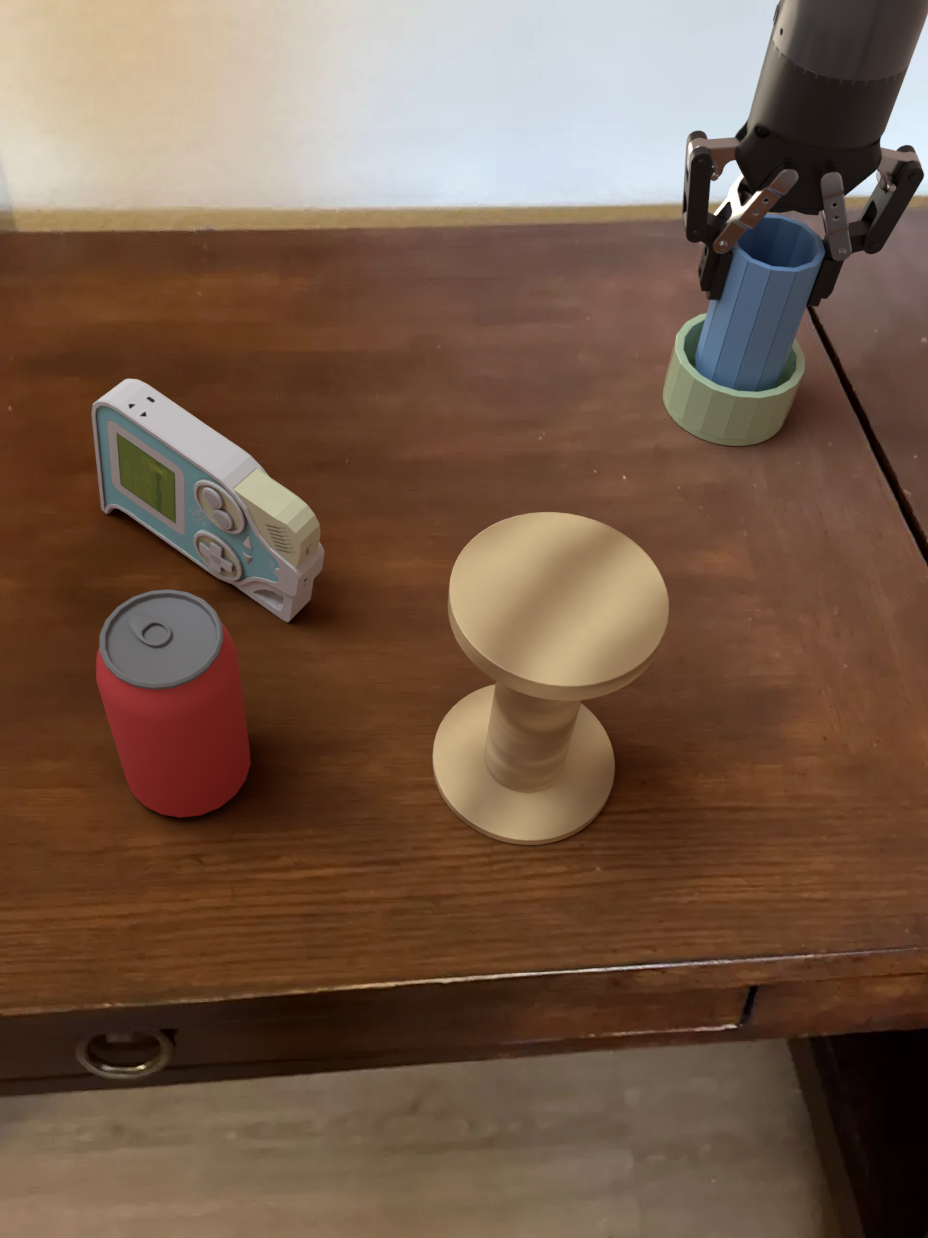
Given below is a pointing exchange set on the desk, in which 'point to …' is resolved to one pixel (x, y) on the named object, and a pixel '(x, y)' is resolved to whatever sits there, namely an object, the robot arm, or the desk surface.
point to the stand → (543, 671)
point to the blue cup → (760, 305)
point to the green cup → (725, 396)
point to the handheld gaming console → (205, 497)
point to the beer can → (174, 702)
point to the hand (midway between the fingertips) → (760, 294)
